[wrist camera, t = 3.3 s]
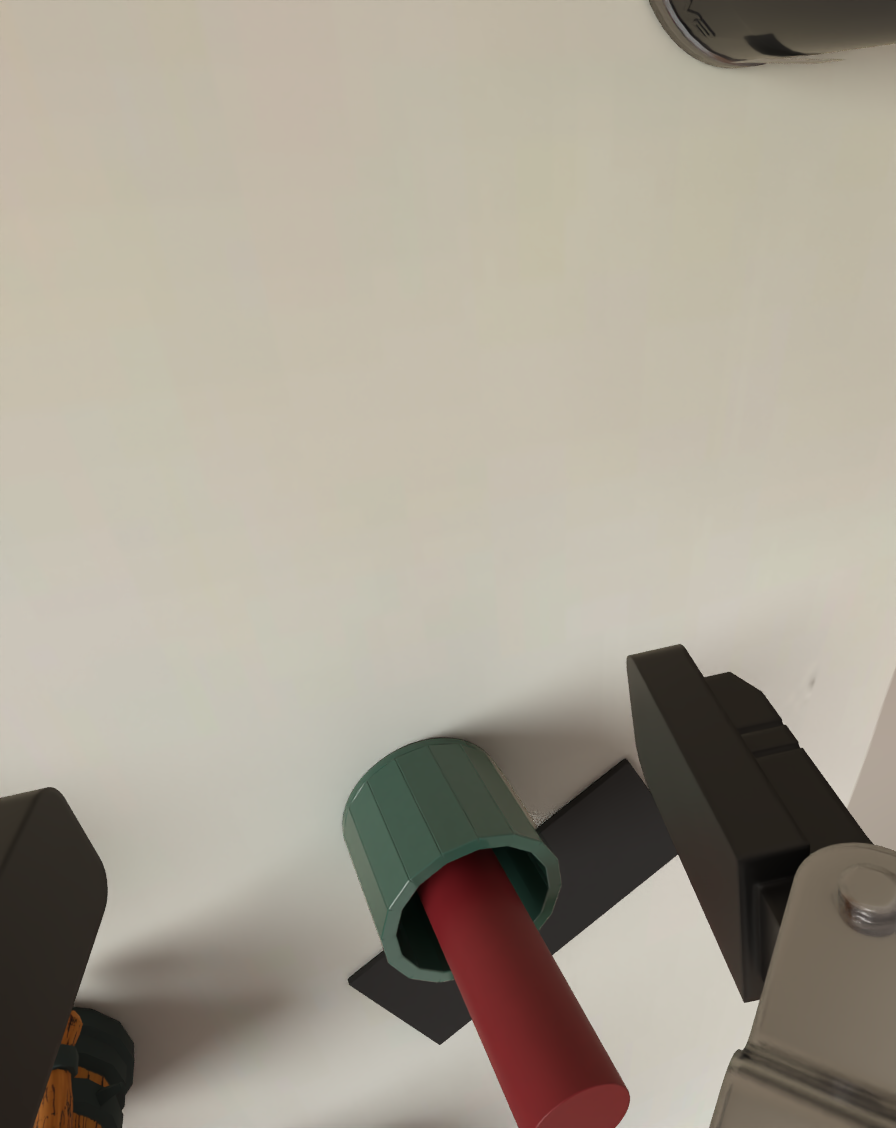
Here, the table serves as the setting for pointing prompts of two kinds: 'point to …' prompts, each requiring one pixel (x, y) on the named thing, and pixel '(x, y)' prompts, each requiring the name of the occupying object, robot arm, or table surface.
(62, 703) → the table surface
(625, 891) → the mat
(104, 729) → the table surface
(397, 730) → the table surface
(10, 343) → the table surface
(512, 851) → the tumbler
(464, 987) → the candle
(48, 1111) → the mug
